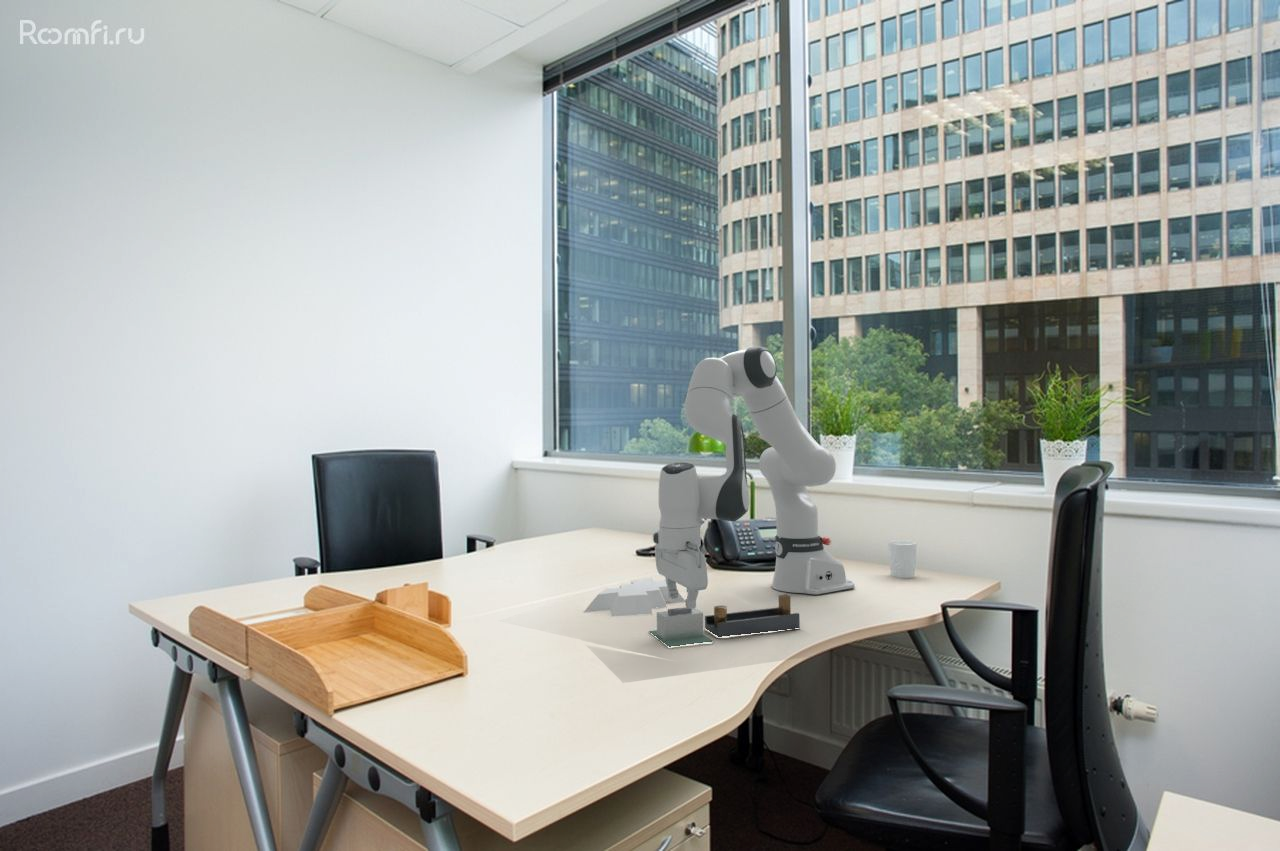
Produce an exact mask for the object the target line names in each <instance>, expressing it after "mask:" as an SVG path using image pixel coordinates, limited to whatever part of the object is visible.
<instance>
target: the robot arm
mask: <svg viewBox="0 0 1280 851" xmlns="http://www.w3.org/2000/svg"><path fill="white" fill-rule="evenodd" d="M777 368H778V367H777V362H776V359H775V357H774V355H773V354H772V352H771V351H769V350H768V349H767V348H765V347H764V346H751V347H750V346H749V347H748V348H746V349H740V350H736V351H732V352H730V353H727V354H726V355H723V356H720V357H707V358H704V359H702V360H700V361H699V362H698V363H696V366H695V368H694V371H693V373H692V376H691V378H690V380H689V384H688V387H687V393H686V398H685V403H684V417H685V420H686V421H687V423H688V425H689V426H690V427H691V428H692V429H693V430H694V431H696V432H697V433H698V434H700V435H702V436H704V437H708V438H710V439H713V440H716V441H718V442H721V443H722V444H724V445H725V461H726V462H725V464H726V471H725V473H723V474H721V475H698V474H697V469H696V466H695V465H694V464H692V463H689V462H674V463H669V464H666V465H665V466H663V467H662V468H661V469H660V475H659V481H658V508H659V511H660V520H659V524H658V526H659V527H658V528H659V529H658V530H657V531H655V532H653V534H652V542H653V543H654V544H655V545H654V556H655V566H656V571H657V573H658V574H659V575H661V576H662V577H665V580H666V584H667V587H668V595H669V597H670V598H672V599H674V598H678V593H679V589H677V584H678V585H681V586H682V587H684V588H686V593H687V596H686V598H685V599H684V600H685V602H684V603H685V607H688V608H689V609H692V608H697V598H698V596H699V591H703V590H707V587H708V584H709V582H708V581H709V579H708V567H707V560H706V556H705V555H704V553H703V552H702V551H701V550H700V547H701V546H702V544H701V543H702V542H701V541H702V540H701V539H702V538H701V521H700V520H703V519H704V520H719V521H724V522H725V521H726V522H737V521H738V520H740V519H742V517H743V516H744V515H746V513H747V512H748V511H749V508H750V502H751V501H750V493H749V487H748V479H747V465H746V463H747V462H746V450H745V447H746V446H745V437H744V428H743V425H742V421H741V419H740V417H739V416H738V415H737V414H734V412H733V411H732V410H733V409H732V403H733V398H736V397H740V396H742V399H743V401H744V405H745V406H746V410H747V411H748V413H749V415H750V417H751V420H752V422H753V424H754V426H755V429H756V430H757V432H758V434H759V436H760V438H761V439H762V440H763V441H764V442H766V443H767V444H769V445H770V446H771V447H768V448H766V449H765V450H763V452H762V453H761V455H760V457H759V462H758V465H759V466H758V467H759V471H760V473H761V474H762V476H763V477H764V478H765V480H766V481H767V482H768V485H769V488H770V491H771V494H772V497H773V502H774V506H775V516H776V520H775V521H776V535H775V536H774V548H775V549H774V550H775V553H774V554H775V556H776V557H775V558H776V559H775V568H774V575H773V578H772V579H773V580H772V583H771V588H772V589H774V590H776V591H781V592H784V593H785V592H787V593H794V594H795V593H797V594H807V595H821V594H826V593H827V594H828V593H832V592H838V591H843V590H849V589H853V588H855V583H854V582H853V581H852V580H850V579H848V578H847V575H846V569H845V567H844V565H843V563H842V562H841V560H838V559H837V558H836V557H835V556H833V555H832V554H830V553H829V552H828V551H827V550H826V549H825V548H824V547H825V546H830V545H831V544H832V540H831V538H830V537H826V536H824V537H821V536H820V535H819V528H818V527H819V526H818V524H819V523H818V514H819V513H818V507H817V505H816V504H815V502H814V501H813V500H812V499H811V497H810V495H809V493H808V489H807V488H808V487H809V488H812V487H819V486H823V485H827V484H828V483H829V482H831V480H833V478H834V476H835V474H836V470H837V466H836V465H837V464H836V460H835V457H834V455H833V454H832V453H831V451H828V449H826V448H825V447H823V446H822V445H821V444H819V443H818V441H817V440H815V438H813V436H812V435H811V433H810V432H809V431H808V430H807V429H806V427H805V426H804V425H803V424H802V422H801V421H800V419H799V417H798V415H797V413H796V412H795V410H794V409H795V408H794V407H793V405H792V403H791V401H790V399H789V396H788V394H787V392H786V390H785V388H784V386H783V385H782V383H781V381H780V379H779V377H778V376H777V372H778V370H777ZM824 545H825V546H824Z"/></svg>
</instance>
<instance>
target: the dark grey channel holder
mask: <svg viewBox="0 0 1280 851" xmlns="http://www.w3.org/2000/svg"><path fill="white" fill-rule="evenodd" d="M727 608H728V607H727V606H726V605H715V606H713V614H710V615H709V614H708V615H704V629H705V628H706V629H707V630H709V631H710V632H712V633H713V634H715V635H717V636H718V637H722V636H730V635H741V634H751V633H760V632H768V631H778V630H787V629H795V628H800V626H801V625H800V613H798V612H796V613H795V612H793V613H791V612H792V611H791V595H789V594H778V607H769V608H761V609H753V610H745V611H744V610H743V611H734V612H728V611H727V610H728V609H727Z"/></svg>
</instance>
